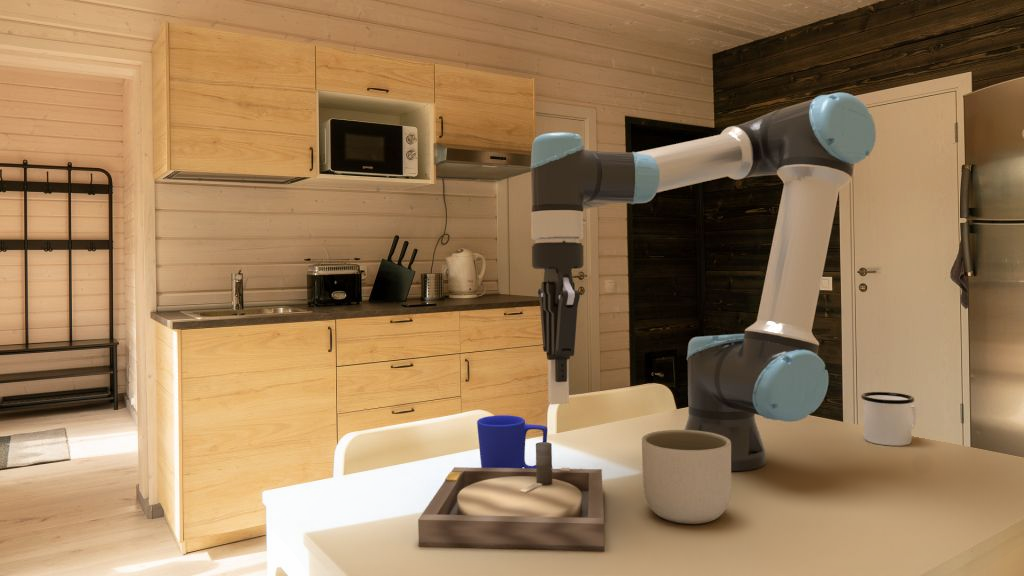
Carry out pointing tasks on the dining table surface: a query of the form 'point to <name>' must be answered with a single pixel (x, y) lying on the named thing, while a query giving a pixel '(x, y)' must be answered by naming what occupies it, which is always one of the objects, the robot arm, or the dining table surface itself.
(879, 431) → the mug
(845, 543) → the dining table surface
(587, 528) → the brown wooden tray
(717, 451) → the planter
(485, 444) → the mug
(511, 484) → the dial
